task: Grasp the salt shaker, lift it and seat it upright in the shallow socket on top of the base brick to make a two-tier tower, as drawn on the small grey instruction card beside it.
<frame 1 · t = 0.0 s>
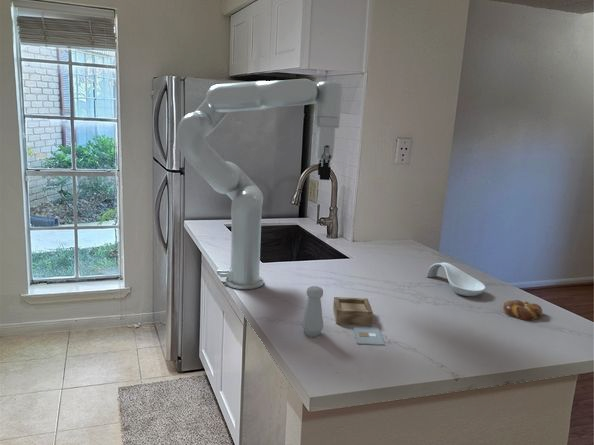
hand: (323, 177, 165), 37 cm above the worktop, tool pointing down, fingers open, 9 cm apart
salt shaker: (312, 334, 138), on the worktop
spoon rest: (452, 288, 180), on the worktop
pretzel: (522, 314, 160), on the worktop
instruction card: (368, 336, 139), on the worktop
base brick: (351, 317, 150), on the worktop
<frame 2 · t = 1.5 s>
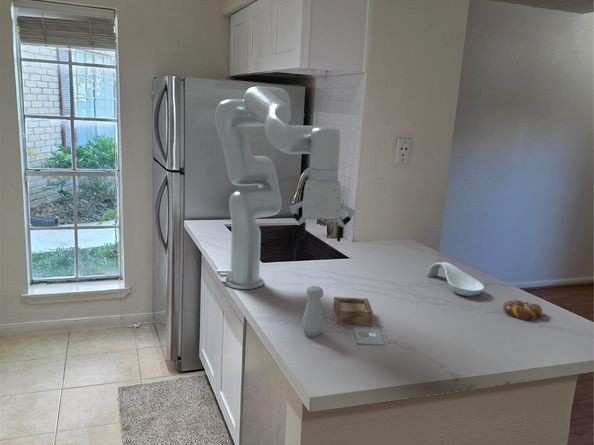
hand: (320, 239, 139), 24 cm above the worktop, tool pointing down, fingers open, 9 cm apart
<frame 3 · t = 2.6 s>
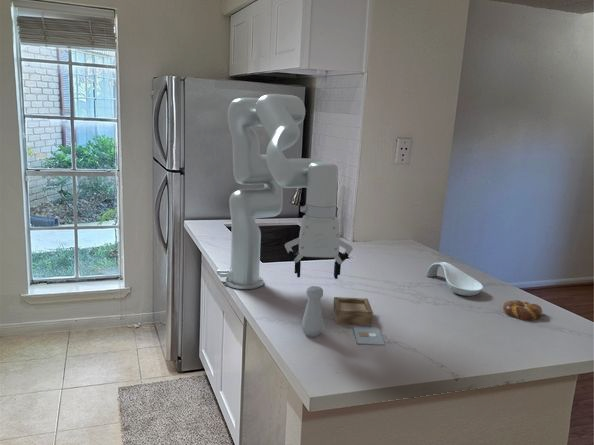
hand: (317, 276, 134), 16 cm above the worktop, tool pointing down, fingers open, 9 cm apart
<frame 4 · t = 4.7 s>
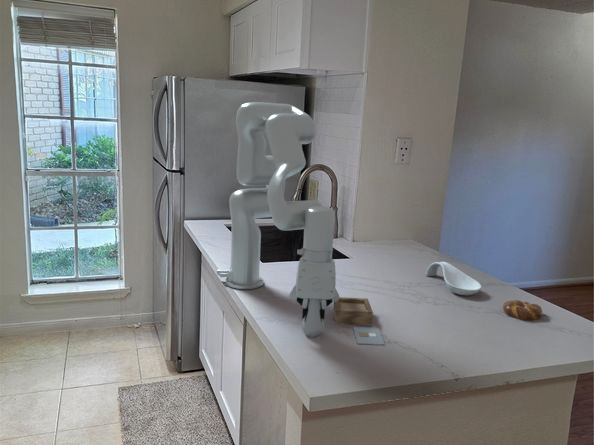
hand: (312, 320, 137), 4 cm above the worktop, tool pointing down, fingers closed on salt shaker, 3 cm apart
salt shaker: (312, 334, 138), on the worktop, touching gripper
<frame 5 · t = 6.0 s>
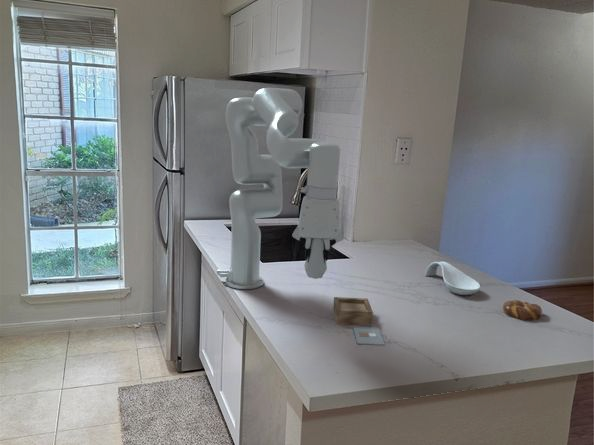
hand: (315, 262, 134), 20 cm above the worktop, tool pointing down, fingers closed on salt shaker, 3 cm apart
salt shaker: (314, 276, 135), point 16 cm above the worktop, touching gripper
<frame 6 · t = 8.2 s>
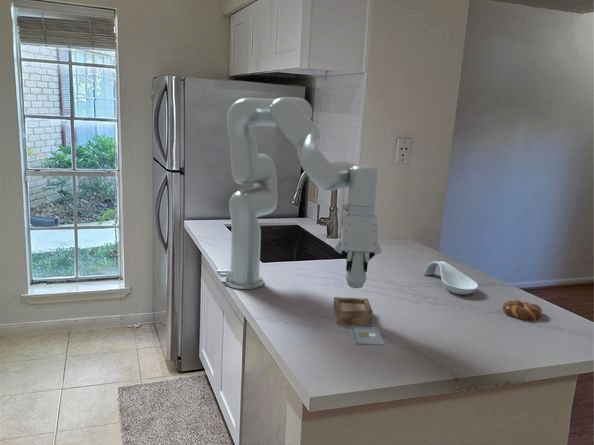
hand: (356, 273, 147), 13 cm above the worktop, tool pointing down, fingers closed on salt shaker, 3 cm apart
salt shaker: (355, 286, 148), point 10 cm above the worktop, touching gripper
when the fingers open (7 cm above the worktop, at t = 9.8 s): salt shaker stays where it is, resting on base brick.
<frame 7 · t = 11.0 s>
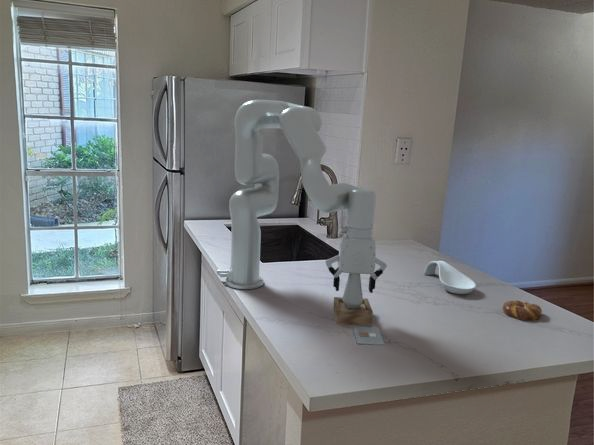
hand: (353, 290, 148), 8 cm above the worktop, tool pointing down, fingers open, 9 cm apart
salt shaker: (351, 308, 150), point 3 cm above the worktop, touching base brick
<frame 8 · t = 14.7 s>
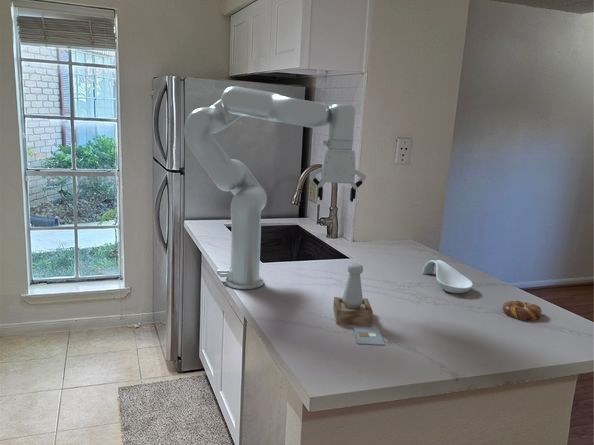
hand: (336, 200, 162), 30 cm above the worktop, tool pointing down, fingers open, 9 cm apart
at the end: salt shaker 0.2 cm off-centre on the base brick, point 2.8 cm above the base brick's base; salt shaker tilted 0°; the gripper is holding nothing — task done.
